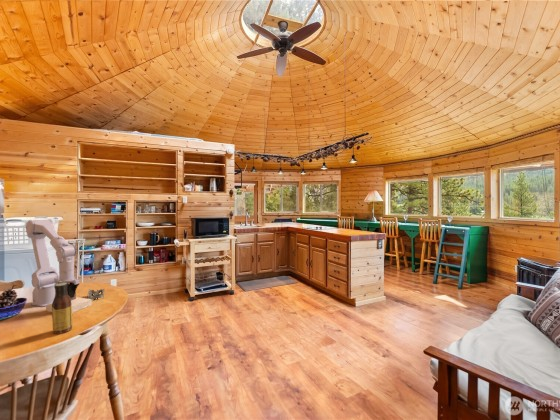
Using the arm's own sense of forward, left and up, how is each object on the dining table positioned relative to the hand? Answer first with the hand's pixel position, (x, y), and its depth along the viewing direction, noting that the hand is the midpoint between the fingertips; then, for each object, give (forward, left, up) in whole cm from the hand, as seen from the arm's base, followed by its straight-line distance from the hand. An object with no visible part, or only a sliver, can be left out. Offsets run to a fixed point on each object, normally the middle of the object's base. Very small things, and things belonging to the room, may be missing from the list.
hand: (67, 297), depth 129 cm
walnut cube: (0, 0, -2) cm, 2 cm away
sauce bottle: (+22, -17, -6) cm, 28 cm away
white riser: (0, +1, -6) cm, 6 cm away
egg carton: (-2, +16, -6) cm, 18 cm away
